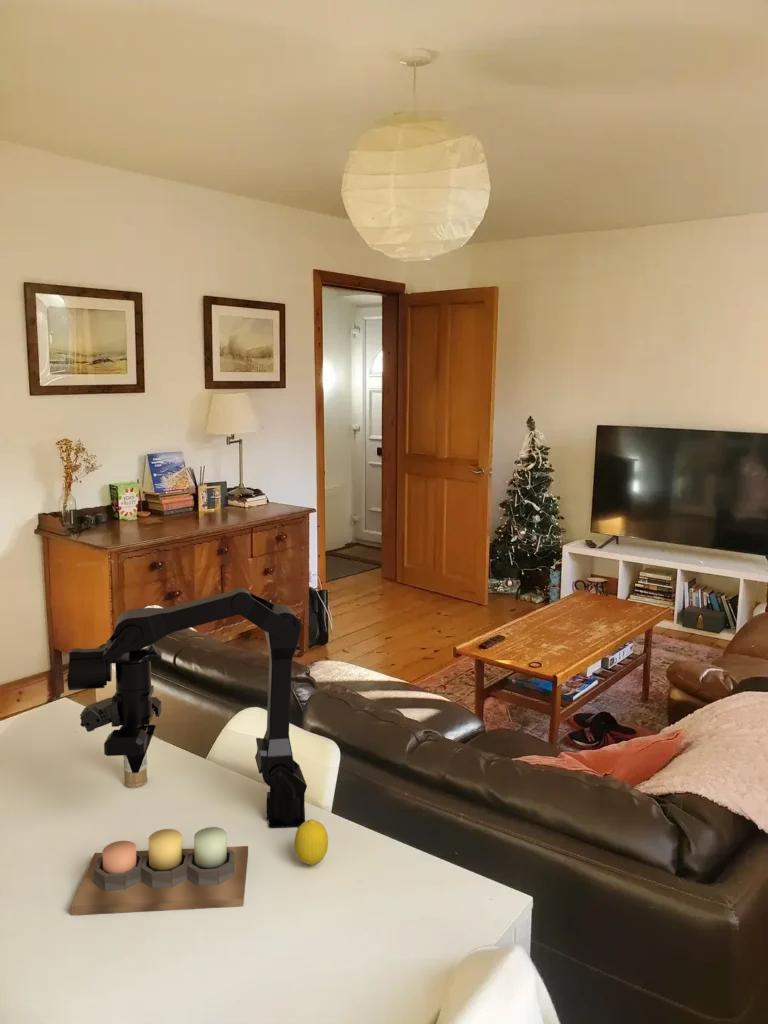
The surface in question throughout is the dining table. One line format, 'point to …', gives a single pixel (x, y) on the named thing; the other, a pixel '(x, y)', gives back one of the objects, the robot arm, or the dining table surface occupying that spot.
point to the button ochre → (165, 849)
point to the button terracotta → (119, 857)
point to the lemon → (311, 842)
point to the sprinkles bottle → (135, 778)
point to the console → (163, 885)
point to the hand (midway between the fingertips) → (135, 771)
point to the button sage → (210, 847)
